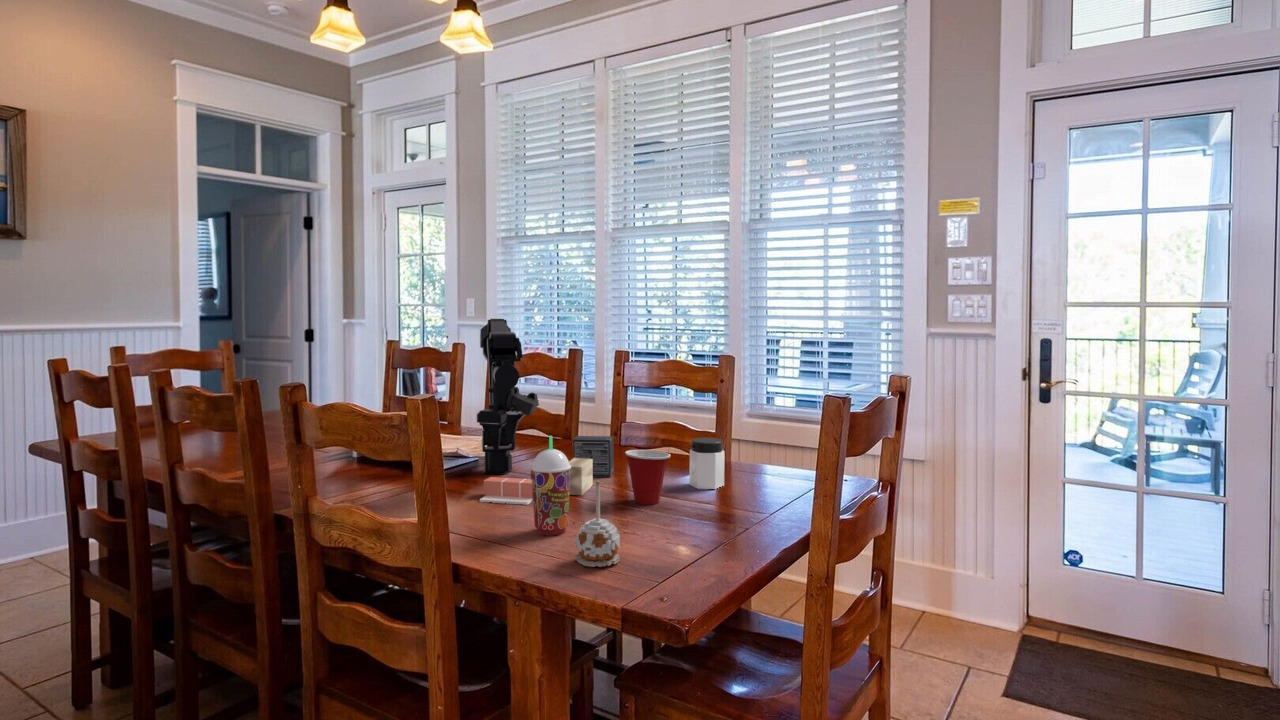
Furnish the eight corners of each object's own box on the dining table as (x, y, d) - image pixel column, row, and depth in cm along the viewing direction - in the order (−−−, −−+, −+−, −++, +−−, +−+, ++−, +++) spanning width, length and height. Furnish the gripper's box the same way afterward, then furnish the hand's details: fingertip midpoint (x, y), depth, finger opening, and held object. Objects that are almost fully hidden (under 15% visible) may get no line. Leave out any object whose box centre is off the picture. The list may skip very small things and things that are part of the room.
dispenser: (539, 492, 181) (539, 465, 181) (552, 483, 191) (552, 456, 190) (581, 495, 179) (581, 467, 178) (592, 485, 189) (592, 458, 188)
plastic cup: (679, 503, 172) (679, 453, 171) (640, 510, 166) (640, 458, 165) (655, 493, 181) (655, 445, 180) (617, 499, 175) (617, 450, 175)
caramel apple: (569, 565, 131) (568, 483, 130) (589, 552, 138) (588, 474, 137) (607, 572, 128) (607, 488, 127) (626, 558, 135) (626, 478, 134)
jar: (684, 483, 191) (685, 438, 190) (712, 480, 194) (712, 436, 194) (700, 491, 183) (701, 444, 182) (728, 488, 186) (729, 442, 185)
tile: (479, 501, 173) (479, 499, 173) (499, 489, 184) (499, 487, 184) (527, 504, 170) (527, 502, 170) (544, 492, 182) (544, 489, 182)
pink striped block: (483, 495, 177) (483, 480, 176) (490, 490, 181) (490, 476, 180) (538, 498, 174) (538, 483, 174) (544, 493, 178) (544, 479, 178)
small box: (614, 472, 204) (614, 435, 203) (611, 478, 197) (611, 439, 197) (577, 471, 205) (576, 434, 204) (572, 476, 198) (572, 438, 198)
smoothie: (554, 540, 145) (553, 441, 143) (522, 533, 149) (521, 437, 147) (579, 529, 152) (579, 434, 150) (548, 523, 156) (547, 431, 155)
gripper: (519, 389, 170) (520, 455, 171) (547, 380, 188) (547, 439, 189) (475, 388, 172) (476, 452, 174) (506, 378, 190) (507, 437, 192)
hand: (504, 445), depth 182 cm, fingers open, 9 cm apart
